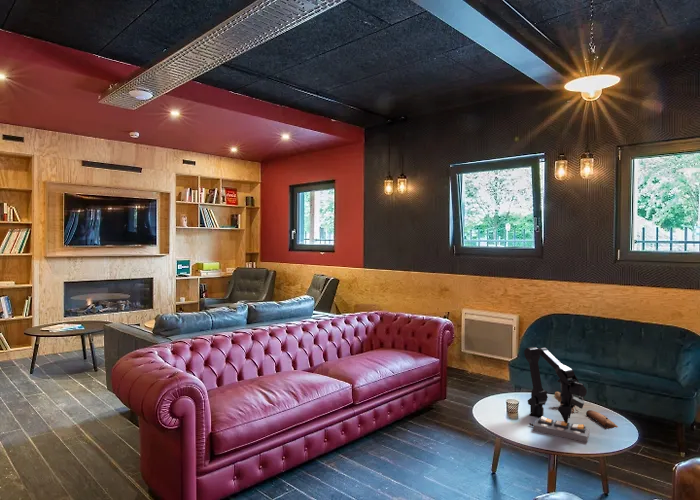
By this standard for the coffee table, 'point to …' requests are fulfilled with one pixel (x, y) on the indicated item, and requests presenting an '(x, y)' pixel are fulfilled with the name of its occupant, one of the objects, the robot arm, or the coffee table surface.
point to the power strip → (561, 430)
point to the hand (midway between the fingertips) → (567, 420)
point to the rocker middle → (561, 423)
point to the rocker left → (545, 419)
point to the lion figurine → (558, 397)
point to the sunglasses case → (601, 419)
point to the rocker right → (578, 426)
